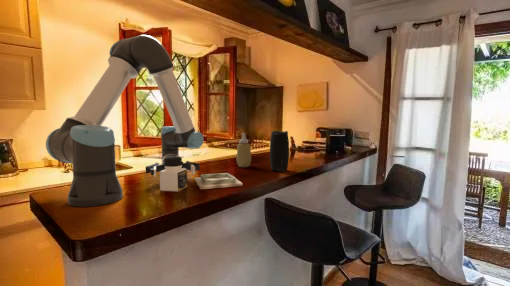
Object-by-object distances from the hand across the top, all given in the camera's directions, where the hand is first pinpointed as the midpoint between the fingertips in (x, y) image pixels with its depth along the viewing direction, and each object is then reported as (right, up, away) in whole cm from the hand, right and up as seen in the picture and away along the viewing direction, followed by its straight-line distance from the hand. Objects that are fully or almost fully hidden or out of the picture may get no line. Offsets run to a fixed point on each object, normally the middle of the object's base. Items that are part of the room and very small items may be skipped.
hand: (174, 172), depth 100 cm
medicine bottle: (-1, -7, +1) cm, 7 cm away
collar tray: (+14, -5, +11) cm, 18 cm away
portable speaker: (+41, -3, +36) cm, 55 cm away
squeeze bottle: (+23, -2, +48) cm, 53 cm away
